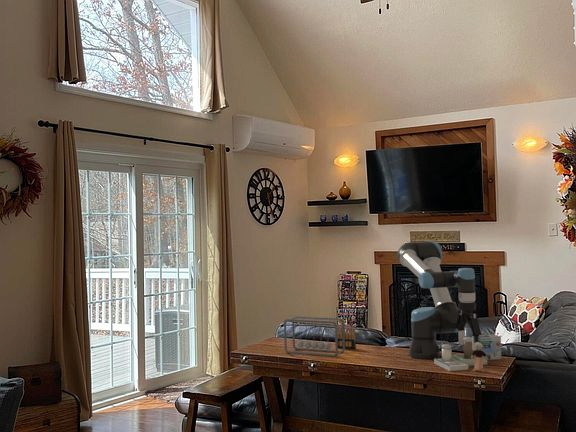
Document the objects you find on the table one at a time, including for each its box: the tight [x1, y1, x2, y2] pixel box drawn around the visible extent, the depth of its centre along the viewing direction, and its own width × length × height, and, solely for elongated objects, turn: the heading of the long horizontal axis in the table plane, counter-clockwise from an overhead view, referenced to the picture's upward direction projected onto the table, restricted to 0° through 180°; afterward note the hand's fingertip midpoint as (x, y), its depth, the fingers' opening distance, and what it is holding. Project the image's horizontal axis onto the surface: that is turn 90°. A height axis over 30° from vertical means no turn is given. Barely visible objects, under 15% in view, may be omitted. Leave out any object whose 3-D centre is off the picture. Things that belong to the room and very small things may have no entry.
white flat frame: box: [433, 358, 469, 372], centre depth 288 cm, size 16×9×3 cm, turn 11°
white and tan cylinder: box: [463, 336, 475, 359], centre depth 294 cm, size 4×4×11 cm
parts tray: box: [452, 353, 488, 367], centre depth 294 cm, size 12×12×3 cm
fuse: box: [441, 343, 453, 362], centre depth 292 cm, size 4×4×9 cm
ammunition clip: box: [337, 325, 357, 350], centre depth 337 cm, size 11×2×12 cm, turn 63°
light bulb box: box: [478, 333, 502, 361], centre depth 303 cm, size 11×7×11 cm, turn 103°
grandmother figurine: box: [471, 342, 489, 372], centre depth 278 cm, size 8×4×13 cm, turn 60°
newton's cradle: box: [283, 316, 346, 358], centre depth 327 cm, size 30×10×18 cm, turn 62°
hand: (468, 347), depth 294 cm, fingers open, 13 cm apart
